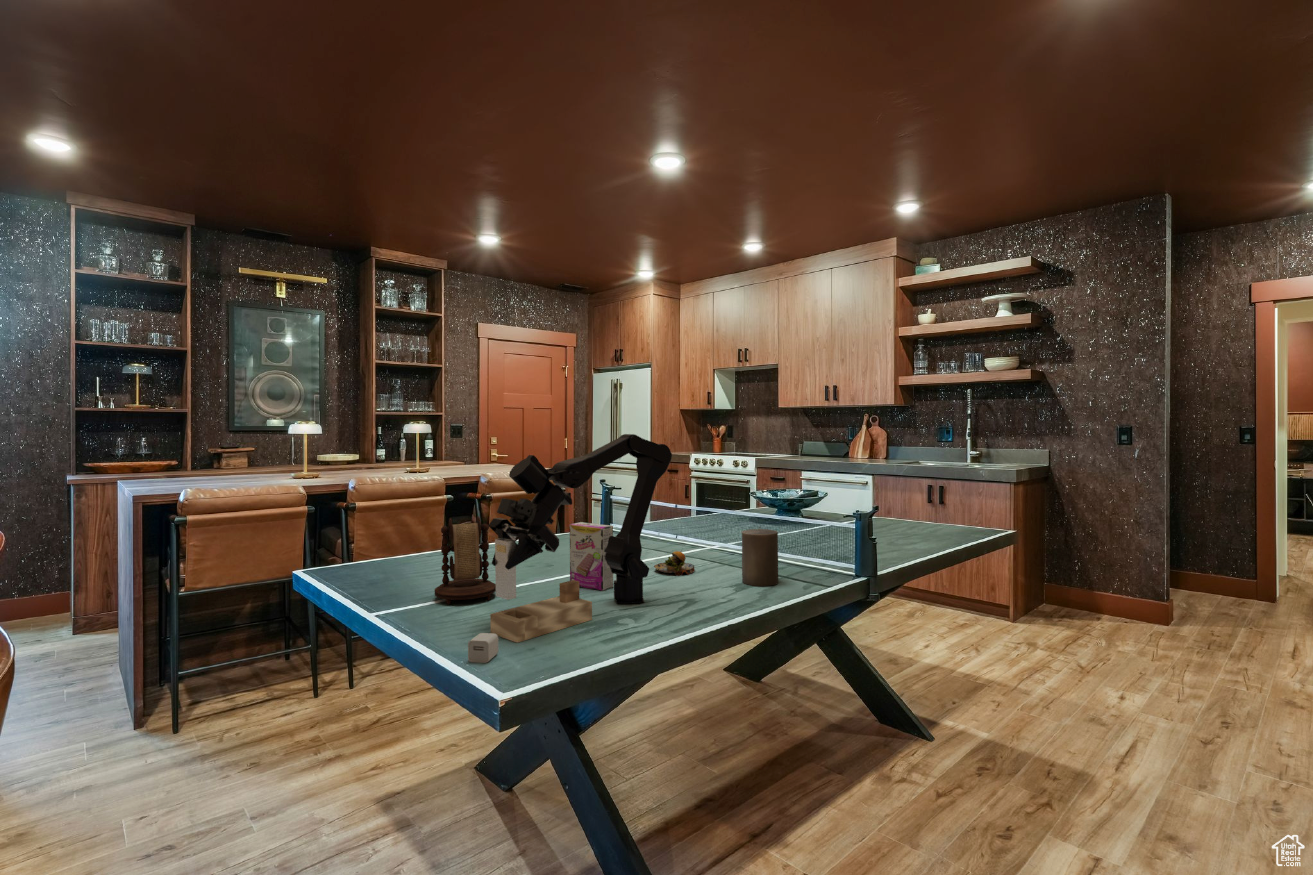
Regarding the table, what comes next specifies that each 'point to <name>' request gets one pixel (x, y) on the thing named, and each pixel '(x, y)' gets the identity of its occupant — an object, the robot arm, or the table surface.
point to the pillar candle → (760, 557)
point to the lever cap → (503, 575)
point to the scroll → (465, 563)
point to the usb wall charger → (483, 647)
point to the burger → (675, 565)
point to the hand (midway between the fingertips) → (499, 566)
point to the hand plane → (543, 615)
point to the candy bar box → (590, 555)
